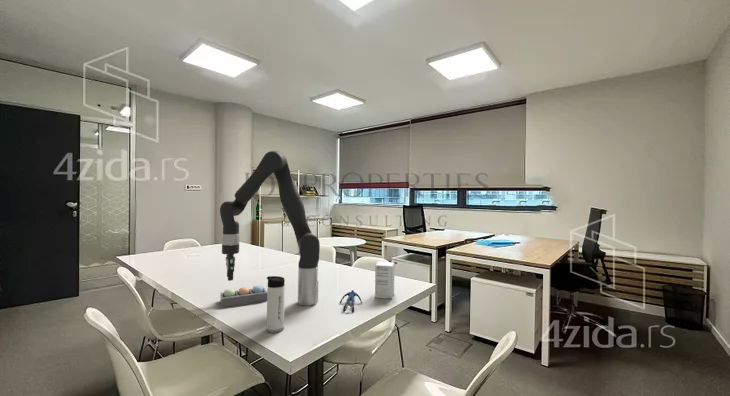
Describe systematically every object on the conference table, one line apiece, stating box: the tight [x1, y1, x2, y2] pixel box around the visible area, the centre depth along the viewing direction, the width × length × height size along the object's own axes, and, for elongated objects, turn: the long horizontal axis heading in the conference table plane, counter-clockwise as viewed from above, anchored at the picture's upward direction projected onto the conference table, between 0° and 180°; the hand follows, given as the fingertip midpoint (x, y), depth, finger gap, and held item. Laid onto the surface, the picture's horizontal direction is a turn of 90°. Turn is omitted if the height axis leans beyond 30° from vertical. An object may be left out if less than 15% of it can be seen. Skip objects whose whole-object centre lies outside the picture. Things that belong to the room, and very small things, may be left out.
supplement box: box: [374, 261, 396, 299], centre depth 153 cm, size 10×9×17 cm
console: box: [219, 286, 267, 309], centre depth 141 cm, size 20×10×4 cm, turn 119°
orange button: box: [238, 286, 250, 295], centre depth 141 cm, size 5×5×4 cm
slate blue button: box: [252, 285, 264, 293], centre depth 144 cm, size 5×5×4 cm
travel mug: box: [266, 275, 286, 334], centre depth 111 cm, size 6×7×20 cm
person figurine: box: [339, 289, 363, 313], centre depth 138 cm, size 11×4×18 cm
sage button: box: [223, 288, 236, 297], centre depth 138 cm, size 5×5×4 cm
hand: (229, 278), depth 138 cm, fingers open, 6 cm apart
